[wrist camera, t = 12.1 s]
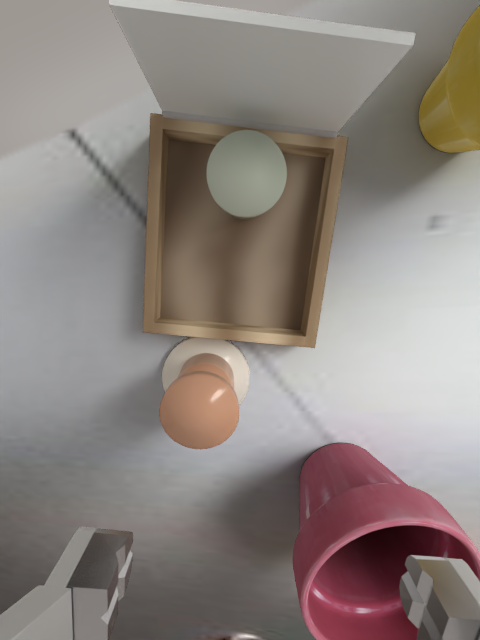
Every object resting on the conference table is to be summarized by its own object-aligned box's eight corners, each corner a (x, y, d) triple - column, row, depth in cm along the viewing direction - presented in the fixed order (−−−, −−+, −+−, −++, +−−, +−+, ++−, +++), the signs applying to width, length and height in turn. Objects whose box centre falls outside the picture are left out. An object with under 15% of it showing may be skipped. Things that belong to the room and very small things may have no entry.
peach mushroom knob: (240, 352, 31) (242, 380, 24) (234, 409, 33) (234, 452, 26) (177, 346, 31) (161, 373, 24) (173, 404, 32) (157, 445, 26)
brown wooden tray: (336, 149, 28) (348, 137, 25) (307, 339, 32) (314, 347, 29) (159, 127, 28) (150, 113, 25) (151, 324, 31) (142, 332, 28)
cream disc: (253, 338, 32) (254, 341, 31) (244, 418, 34) (244, 422, 33) (165, 330, 31) (164, 332, 31) (161, 411, 33) (159, 415, 33)
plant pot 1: (351, 546, 38) (409, 692, 25) (253, 496, 36) (264, 627, 23) (424, 457, 35) (529, 570, 23) (323, 399, 34) (377, 486, 21)
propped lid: (335, 128, 25) (415, 33, 14) (334, 140, 26) (411, 54, 15) (164, 108, 25) (109, -9, 14) (164, 119, 25) (108, 13, 14)
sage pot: (279, 159, 28) (292, 135, 22) (271, 226, 29) (281, 220, 23) (214, 152, 28) (209, 125, 22) (209, 220, 29) (203, 212, 23)
